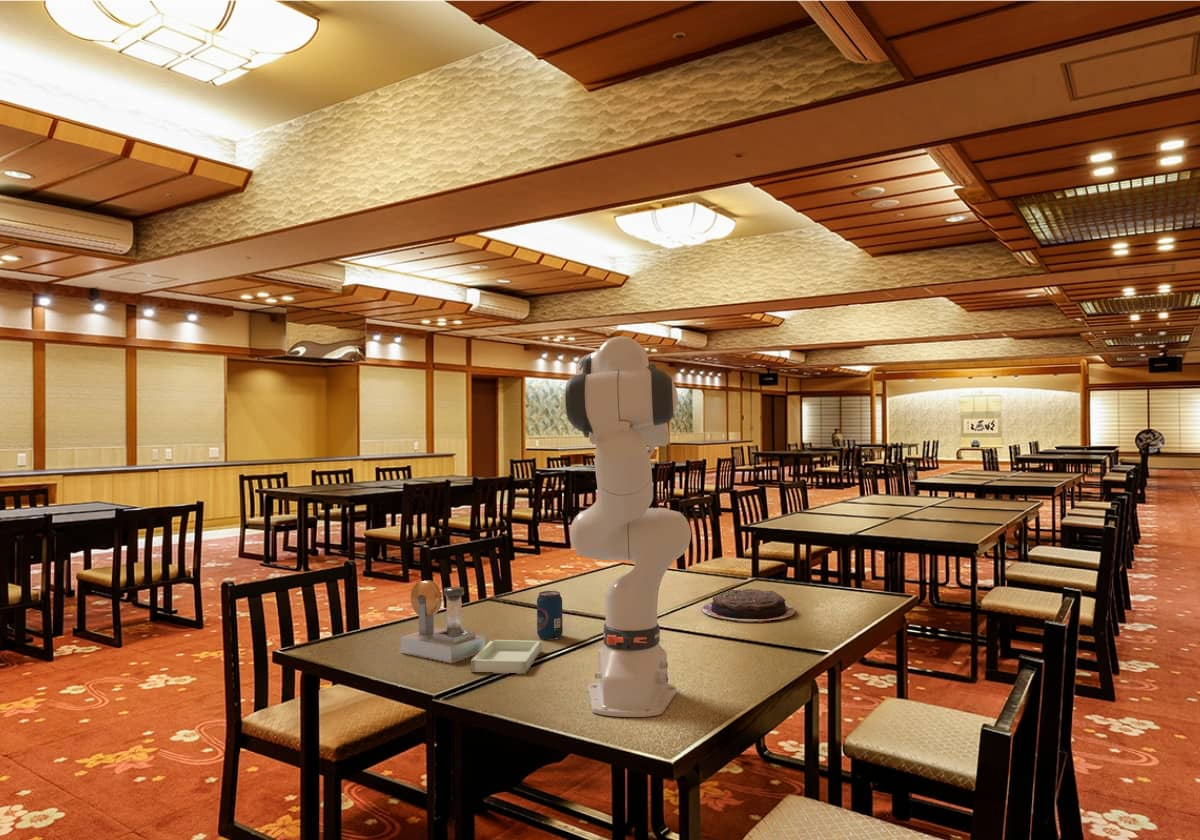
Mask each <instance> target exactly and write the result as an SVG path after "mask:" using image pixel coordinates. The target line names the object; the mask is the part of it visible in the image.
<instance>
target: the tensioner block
mask: <svg viewBox="0 0 1200 840" xmlns="http://www.w3.org/2000/svg"><path fill="white" fill-rule="evenodd" d="M410 591H411V592H410V603H411V607H412V609H413V611H414V612H415V614H417V615H418V631H416V632H413V633H410V634H406V635H402V636H400V654H405V655H410V656H414V657H419V658H423V659H427V658H429V659H428V660H432V659H433V660H432V661H437V660H438V661H437V662H441V661H443V663H446V662H447V663H446V664H454V663H458V662H461V661H462V660H463V661H464V660H466V659H469V658H471V657H470V656H472V657H474V656H473V655H475V654H478V653H479V652H480V651H481V650H482V649H483V648H484V647H485V646H486V635H483V634H482V635H481V634H476V630H475V631H474V630H470V629H469V630H468V629H465V628H461V635H457V636H449V635H447V628H443V627H440V626H439V627H438V626H434V622H435V621H434V615H436V614H438V612H439V611H440V609H441V607H442V603H443V598H442V592H441V590H440V588H439V586H438V584H437V583H436V582H435V581H433V580H430V579H429V580H428V579H427V580H421V581H418V582H416V583H415V584H414V585H413V586H412V588H411V590H410ZM475 656H476V655H475ZM468 657H469V658H468ZM465 658H466V659H465ZM460 660H461V661H460ZM457 661H458V662H457Z"/></svg>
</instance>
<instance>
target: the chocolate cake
mask: <svg viewBox="0 0 1200 840" xmlns="http://www.w3.org/2000/svg"><path fill="white" fill-rule="evenodd" d="M701 611H702V613H704V614H705V615H706V616H707V617H708V616H709V617H708V618H714V619H715V618H716V620H719V619H720V621H723V620H726V621H725V622H727V621H739V622H738V623H744V622H764V623H767V622H766V621H769V622H772V621H771V620H783V619H784V620H785V619H787V618H790V617H793V616H794V615H795V613H796V610H795V608H794V607H793V606H791V605H789V604H786V599H785V598H784V597H783V596H782V595H781V594H780V593H779V594H778V593H777V592H776V591H773V590H761V589H756V588H755V589H752V588H746V589H744V588H743V589H728V590H727V591H724V592H722V593H719V594H717V595H715V596H713V597H712V602H708V603H706V604H705V605H703V606H702V608H701ZM792 615H793V616H792ZM784 620H783V621H784ZM740 621H741V622H740Z"/></svg>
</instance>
